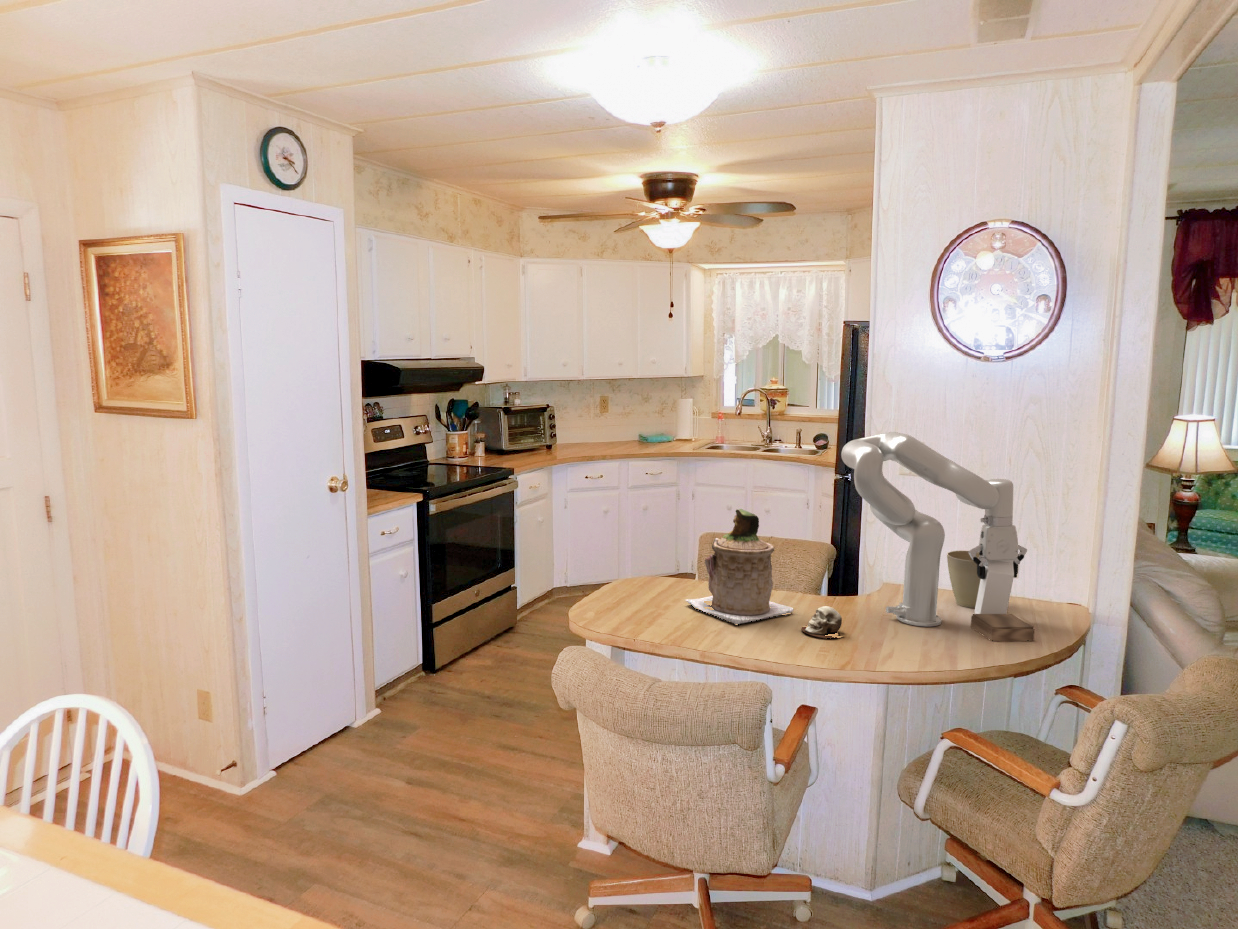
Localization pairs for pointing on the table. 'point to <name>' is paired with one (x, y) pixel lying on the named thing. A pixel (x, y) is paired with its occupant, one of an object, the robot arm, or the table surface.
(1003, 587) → the milk carton
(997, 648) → the table surface
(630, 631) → the table surface
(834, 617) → the skull
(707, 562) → the cookie jar
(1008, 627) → the block
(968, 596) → the plant pot
